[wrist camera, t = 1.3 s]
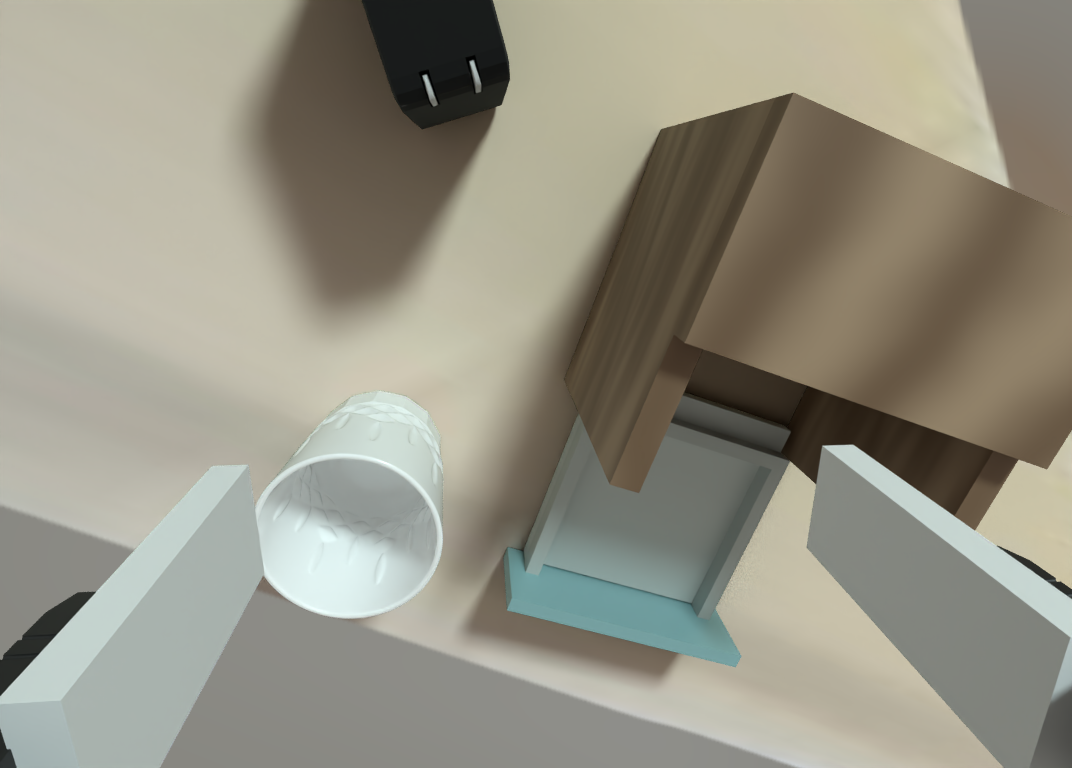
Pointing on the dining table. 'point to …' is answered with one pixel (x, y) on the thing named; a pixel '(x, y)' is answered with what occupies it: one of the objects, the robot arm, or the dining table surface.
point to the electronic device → (440, 56)
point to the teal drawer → (652, 533)
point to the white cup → (356, 510)
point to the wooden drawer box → (836, 301)
